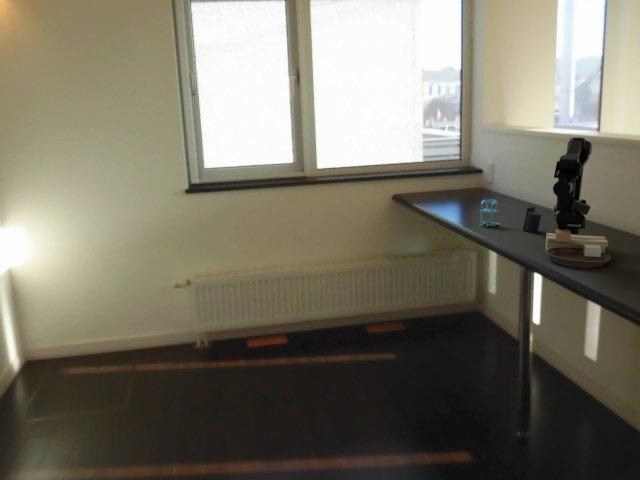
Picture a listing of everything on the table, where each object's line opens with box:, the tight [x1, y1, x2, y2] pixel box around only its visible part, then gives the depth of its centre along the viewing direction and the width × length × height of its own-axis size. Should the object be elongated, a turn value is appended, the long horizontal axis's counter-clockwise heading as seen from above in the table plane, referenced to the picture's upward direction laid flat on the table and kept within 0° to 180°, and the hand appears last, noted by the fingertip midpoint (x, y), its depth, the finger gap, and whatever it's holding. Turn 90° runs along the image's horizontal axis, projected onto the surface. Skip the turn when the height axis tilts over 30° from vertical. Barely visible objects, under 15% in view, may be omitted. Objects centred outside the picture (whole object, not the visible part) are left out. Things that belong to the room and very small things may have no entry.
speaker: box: [522, 206, 542, 233], centre depth 258 cm, size 8×6×10 cm
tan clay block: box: [555, 228, 571, 242], centre depth 214 cm, size 5×5×3 cm
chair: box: [478, 198, 501, 228], centre depth 271 cm, size 8×8×12 cm
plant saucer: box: [545, 247, 612, 269], centre depth 208 cm, size 21×21×3 cm
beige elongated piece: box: [545, 232, 609, 254], centre depth 219 cm, size 11×20×6 cm, turn 72°
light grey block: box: [583, 244, 601, 257], centre depth 205 cm, size 5×5×3 cm
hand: (562, 235), depth 218 cm, fingers closed
